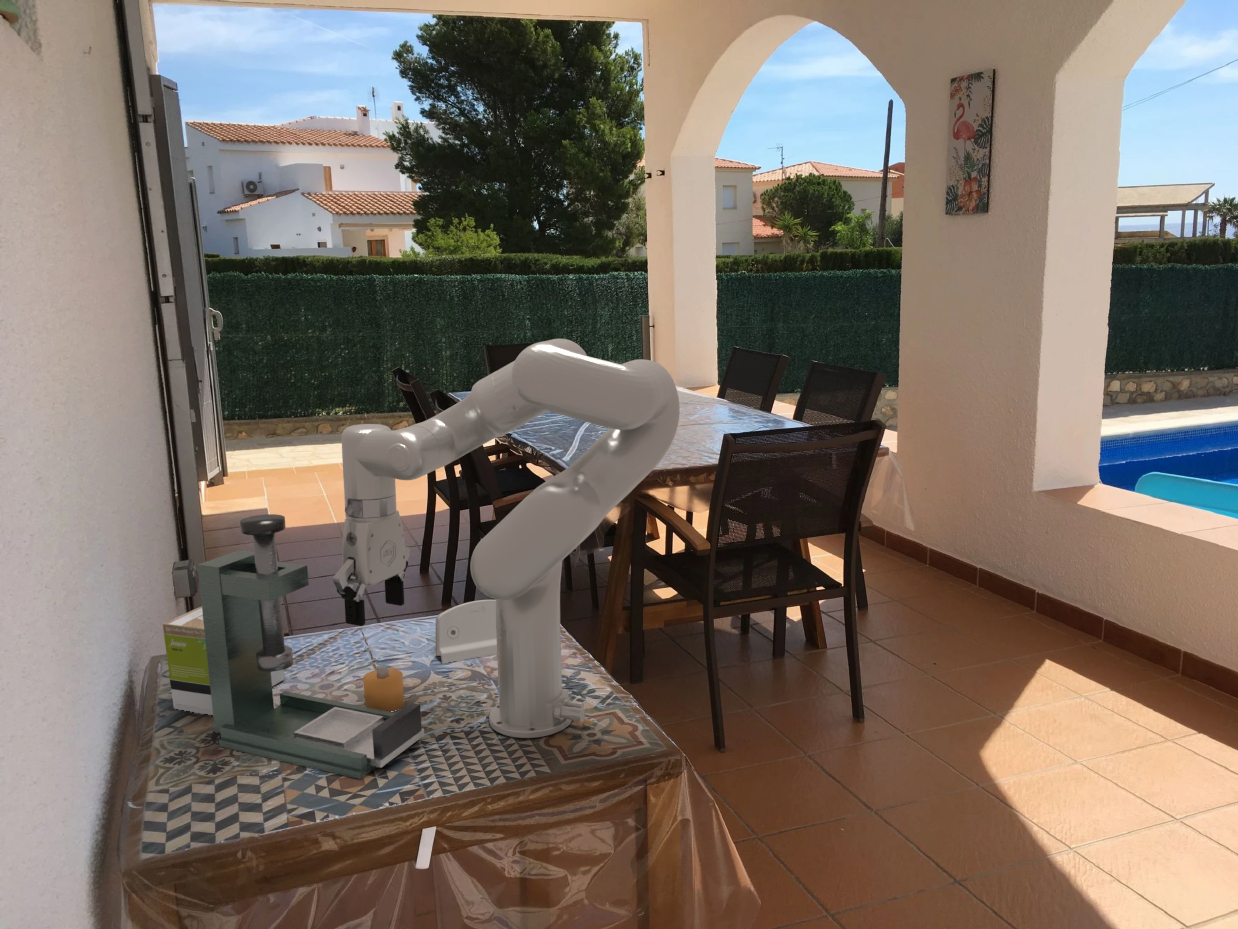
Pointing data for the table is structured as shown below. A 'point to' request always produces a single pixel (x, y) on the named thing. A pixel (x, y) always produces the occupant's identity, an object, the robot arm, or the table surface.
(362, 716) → the sliding bed
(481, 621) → the hinge
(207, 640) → the press
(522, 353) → the robot arm
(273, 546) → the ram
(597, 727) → the table surface
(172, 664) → the tea box
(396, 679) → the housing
